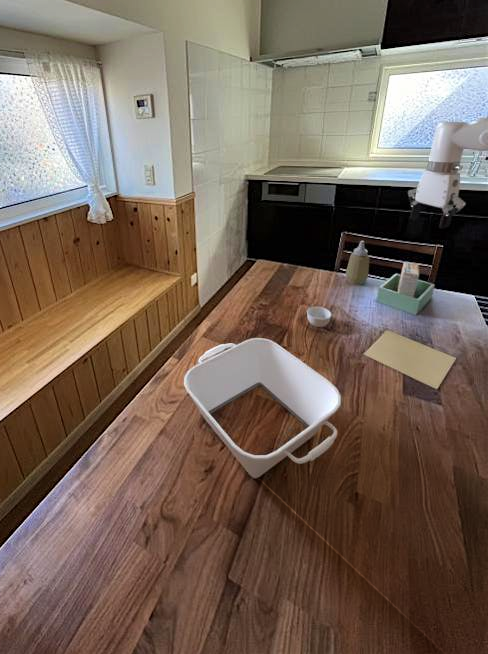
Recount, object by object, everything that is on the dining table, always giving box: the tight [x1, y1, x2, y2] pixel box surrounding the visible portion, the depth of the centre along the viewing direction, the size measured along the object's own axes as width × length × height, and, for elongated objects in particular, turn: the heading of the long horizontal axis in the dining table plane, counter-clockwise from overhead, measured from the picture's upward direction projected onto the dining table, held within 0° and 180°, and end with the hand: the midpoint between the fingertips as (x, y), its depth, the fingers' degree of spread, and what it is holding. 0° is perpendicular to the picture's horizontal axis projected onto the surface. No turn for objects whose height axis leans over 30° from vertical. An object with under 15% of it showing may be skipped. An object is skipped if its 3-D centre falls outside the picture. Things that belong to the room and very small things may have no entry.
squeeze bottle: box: [345, 240, 370, 286], centre depth 131 cm, size 8×8×18 cm
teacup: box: [306, 306, 332, 328], centre depth 110 cm, size 10×10×5 cm
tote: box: [375, 272, 435, 316], centre depth 119 cm, size 13×15×6 cm
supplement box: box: [396, 262, 420, 298], centre depth 117 cm, size 8×5×13 cm, turn 149°
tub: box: [183, 337, 342, 479], centre depth 75 cm, size 34×27×13 cm
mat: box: [363, 329, 457, 390], centre depth 94 cm, size 18×16×1 cm
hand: (428, 222), depth 105 cm, fingers open, 9 cm apart
